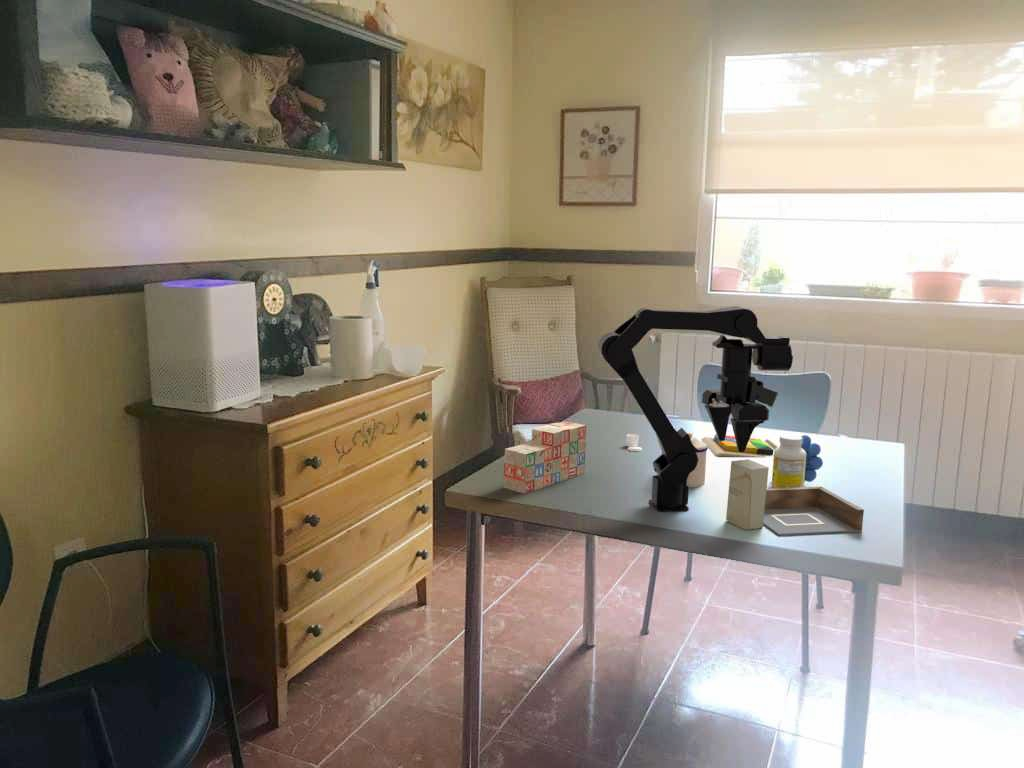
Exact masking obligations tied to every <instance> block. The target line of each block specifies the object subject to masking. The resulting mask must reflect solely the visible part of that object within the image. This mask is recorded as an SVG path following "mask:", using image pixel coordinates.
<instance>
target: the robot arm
mask: <svg viewBox="0 0 1024 768" xmlns="http://www.w3.org/2000/svg"><path fill="white" fill-rule="evenodd" d="M653 329H654V330H678V331H679V330H680V331H683V330H684V331H706V332H707V331H708V332H713V333H717V334H721V335H720V336H719V337H718V339H716V340H715V341H713V342H712V346H713V347H715V348H716V349H722V355H721V356H722V357H721V372H720V373H717V376H716V377H717V379H718V380H720V389H706V390H705V391H704V392H702V396H701V403H702V404H705V405H704V409H706V412H707V414H708V416H709V418H710V421H711V423H712V425H713V428H714V431H715V433H716V434H717V436H718V439H719V441H724V440H725V437H726V436H727V431H728V424H729V422H730V423H731V427H732V430H733V434H734V437H735V440H736V444H737V448H738V451H739V452H744V451H745V449H746V446H747V444H748V442H749V439H750V438H752V437H751V436H752V434H753V433H754V430H755V428H756V427H758V426H759V425H760V424H764V423H765V422H766V421H769V420H770V419H769V418H770V417H769V416H770V409H769V408H768V407H771V408H773V407H774V404H775V401H776V399H777V397H778V394H779V392H778V391H775V390H772V389H770V388H768V387H764V381H761V380H758V379H756V378H755V376H753V375H752V364H753V366H757V370H758V371H767V372H769V371H770V372H771V371H773V372H774V371H776V372H789V371H790V369H792V364H793V360H794V359H793V358H794V356H793V354H792V353H793V351H792V346H791V344H790V343H791V342H790V337H787V336H777V337H775V336H774V337H770V336H769V337H768V336H765V335H764V333H763V332H762V331H761V329H760V328H759V326H758V317H757V316H756V314H755V312H754V311H753V310H751V309H749V308H745V307H742V306H735V305H734V306H727V307H722V308H721V307H720V308H716V309H712V310H684V309H683V310H681V309H680V310H678V309H677V310H675V309H655V308H654V309H653V308H648V307H641V308H640V309H638V310H637V311H636V312H635V314H633V315H632V316H631V317H630V318H628V320H625V322H623V323H622V324H621V325H619V326H618V327H617V328H616V329H615V330H614V331H611V332H607V333H605V334H603V335H602V336H601V337H600V339H599V340H598V343H597V351H598V353H599V354H600V356H601V357H602V358H603V359H604V360H605V361H606V362H607V363H608V365H609V366H610V367H611V368H612V370H613V371H614V372H615V373H616V374H617V375H618V376H619V378H621V379H622V381H623V383H624V385H625V386H626V387H627V389H628V391H629V393H631V395H632V398H633V399H634V400H635V402H636V403H637V406H638V407H639V409H640V410H641V411H642V414H643V415H644V417H645V419H646V420H647V422H648V424H650V426H651V428H652V430H653V431H654V433H655V434H656V438H657V442H658V445H659V447H660V450H661V454H660V455H659V456H657V458H655V460H653V462H652V467H653V470H654V472H655V473H656V475H652V486H651V487H652V488H651V499H648V503H649V504H650V505H651V506H652V507H653V508H654V509H655V510H656V511H658V512H675V511H676V512H679V511H689V506H688V504H689V489H690V487H689V486H688V485H687V478H688V476H689V474H690V473H691V472H692V471H693V470H694V469H695V468H696V466H697V463H698V456H697V454H696V453H695V452H698V449H697V448H696V447H695V446H694V445H693V444H692V442H691V439H690V437H689V435H688V434H687V433H686V432H687V431H686V430H685V429H684V428H683V427H680V429H678V430H676V428H674V426H673V425H672V422H671V421H670V420H669V417H668V416H667V415H666V413H665V411H664V410H663V408H662V407H661V405H660V403H659V402H658V400H657V398H656V397H655V395H654V393H653V391H652V389H651V387H650V386H649V385H648V384H647V382H646V380H645V379H644V377H643V375H642V374H641V371H640V369H639V367H638V364H637V360H636V357H635V355H634V351H633V349H634V348H635V347H636V346H637V345H638V344H639V343H640V341H642V339H643V338H644V337H645V336H646V335H647V333H649V332H650V331H651V330H653ZM726 336H730V337H734V338H727V337H726ZM735 338H736V339H735ZM737 338H739V339H737ZM742 338H743V339H745V340H747V341H750V342H752V343H753V344H752V343H744V341H743V340H742ZM756 401H757V402H756ZM766 405H767V406H768V407H767V406H766ZM730 416H732V417H731V418H730ZM729 420H730V421H729ZM716 434H715V435H716Z"/></svg>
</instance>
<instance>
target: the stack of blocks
mask: <svg viewBox="0 0 1024 768" xmlns="http://www.w3.org/2000/svg"><path fill="white" fill-rule="evenodd" d="M586 437H587V425H586V424H581V423H576V422H570V421H561V422H552V423H549V424H546V425H542V426H538V427H535V428H534V427H533V428H532V429H531V442H527V443H523V444H522V443H521V444H520V445H519V444H518V445H515V446H509V447H507V448H505V449H504V463H503V488H504V489H507V490H510V491H515V492H517V493H521V494H527V493H529V492H530V493H531V492H533V491H537V490H540V489H543V488H546V487H548V486H552V485H553V484H556V483H560V482H563V481H566V480H570V479H572V478H574V477H578V476H582V475H584V474H585V472H586V470H585V469H586V464H585V463H586V447H587V438H586Z"/></svg>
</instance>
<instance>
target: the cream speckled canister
mask: <svg viewBox="0 0 1024 768" xmlns="http://www.w3.org/2000/svg"><path fill="white" fill-rule="evenodd" d="M686 433H687V434H688V435H689V437H690V439H691V442H692V444H693V445H694V446H695V447H696V448H697V449H698V452H695V453H696V454H697V456H698V463H697V466H696V468H695V469H694V470H693V471H692V472H691V473H690V474H689V476H688V478H687V485H688V486H689V488H697V487H701V486H704V485H705V483H706V465H707V452H708V451H707V450H709V448H708V447H707V444H706V443H704V442H703V441H702V440H699V439H698V438H697V437H694V436H693V433H692V432H690V431H686Z"/></svg>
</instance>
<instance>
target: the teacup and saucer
mask: <svg viewBox="0 0 1024 768" xmlns="http://www.w3.org/2000/svg"><path fill="white" fill-rule="evenodd" d="M639 438H640V436H639V435H638V434H635V433H629V434H628V433H627V435H626V447H627V446H628V448H627V450H628V451H629V450H630V452H633V451H639V452H641V450H642V451H643V448H642V447H640V446H638V445H639Z"/></svg>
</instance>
